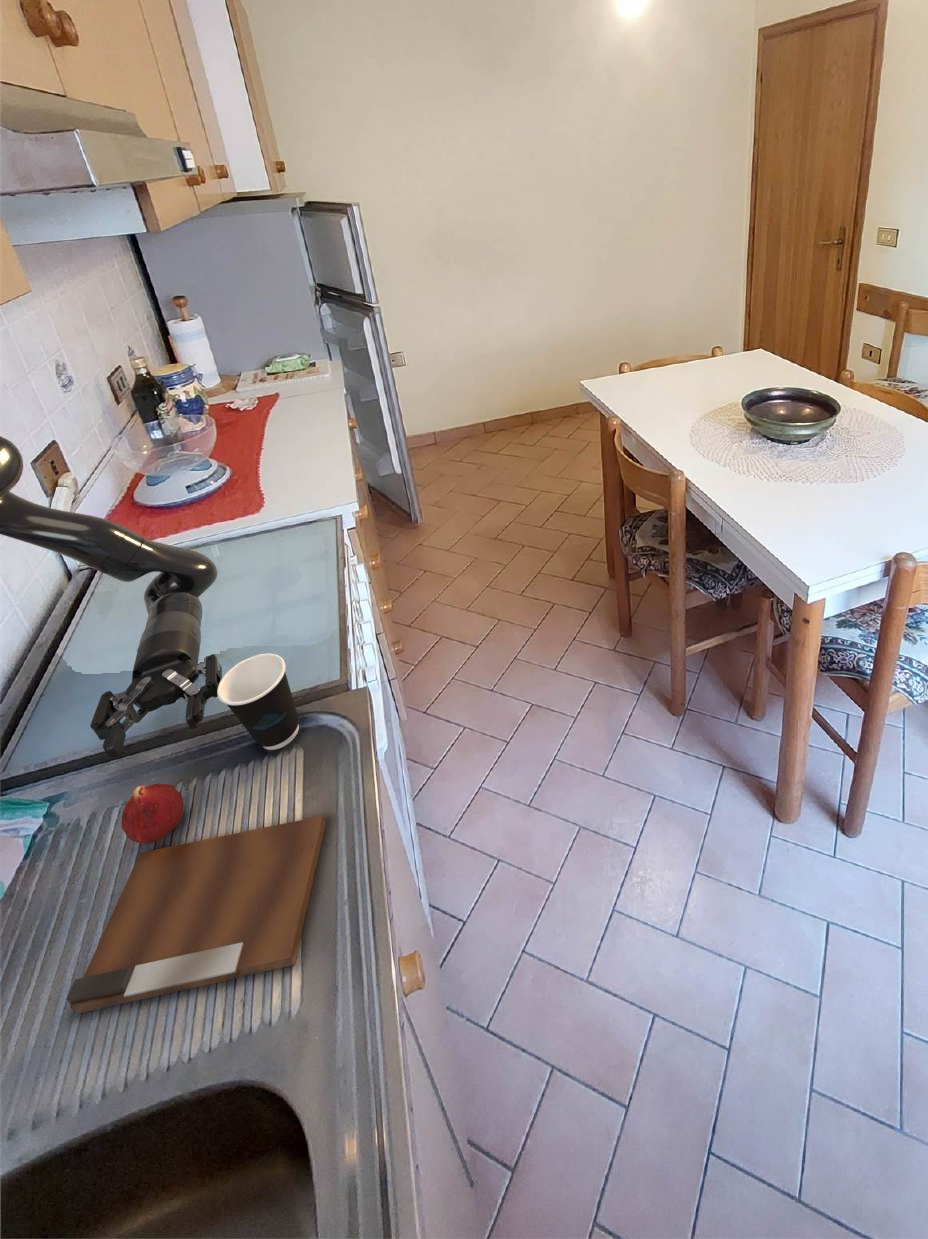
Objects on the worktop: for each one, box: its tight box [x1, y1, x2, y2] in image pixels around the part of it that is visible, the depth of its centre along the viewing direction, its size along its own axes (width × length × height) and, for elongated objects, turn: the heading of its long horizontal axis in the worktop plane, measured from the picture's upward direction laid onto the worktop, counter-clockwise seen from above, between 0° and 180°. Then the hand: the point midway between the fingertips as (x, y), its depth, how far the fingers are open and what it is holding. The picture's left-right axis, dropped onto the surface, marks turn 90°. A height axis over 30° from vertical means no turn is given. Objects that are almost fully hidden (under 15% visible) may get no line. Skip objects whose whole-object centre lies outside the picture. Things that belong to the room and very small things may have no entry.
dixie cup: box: [217, 653, 300, 751], centre depth 83 cm, size 8×8×11 cm
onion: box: [121, 783, 185, 845], centre depth 73 cm, size 6×6×8 cm
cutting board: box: [65, 815, 327, 1015], centre depth 66 cm, size 20×14×2 cm
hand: (152, 738), depth 79 cm, fingers open, 8 cm apart
